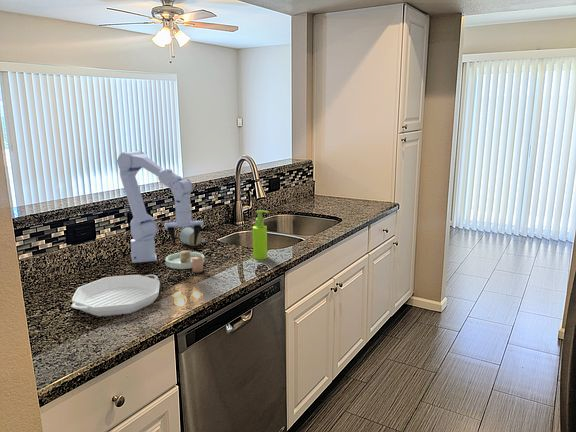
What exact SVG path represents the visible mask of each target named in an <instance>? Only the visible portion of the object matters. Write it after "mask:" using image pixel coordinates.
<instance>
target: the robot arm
mask: <svg viewBox="0 0 576 432" xmlns="http://www.w3.org/2000/svg"><path fill="white" fill-rule="evenodd" d="M116 163H117V166H118V169H119V177H120V180H121V183H122V186H123V188H124V189H123V190H124V192H125V195H126V199H127V201H128V204H129V208H130V212H131V214H132V219H131V220H130V223H129V226H130V234H131V237H132V238H133V239H130V250H131V251H130V258H131V263H132V264H135V263H137V264H138V263H147V262H148V263H149V262H157V261H158V260H157V254H156V246H155V237H156V234H157V232H158V224H157V223H156V222H155V220H154V218H153V216H152V215H150V214H149V213H148V212H147V210H146V206H145V202H144V199H143V197H142V194H141V190H140V188H139V187H140V186H139V184H138V181H137V178H136V175H137V174H138V172H140V170H142V169H144V170H146V171H147V172H150V173H151V174H153V175H155V176H156V177H157V178H158V179H157V180H158V181H159V182H160V183H161V184H162V185H164V186H165V187H167V188H169V189H170V191H171V193H172V195H173V199H174V206H175V208H174V209H175V221H172V222H171V221H170V222H164V224H163V225H164V230H167V232H168V234H169V236H170V238H171V240H172V243H173V247H174V248H175V247H177V245H176V244H177V243H176V242H177V241H176V232H175V229H178V228H180V229H181V228H186V227H189V228H192V229H194V245H196V242H197V237H198V234H199V232H200V231H201V229H202V227H204V220H192V208H191V207H192V206H191V193H192V192H193V189H194V186H193V183H192V182H191V180H190V179H188V178H182V176H179V175H178V174H176V173H174V172H173V170H172V169H171V168H165V169H164V168H162V167H161V166H159V165H158V164H157V163H156V162H155V161H153V159H151V158H149V156H148V154H147V153H145V152H144V151H142V150H137V151H130V152H129V151H128V152H126V151H124V152H121V153H120V154H119V155H118V157H117V160H116ZM200 233H201V232H200Z"/></svg>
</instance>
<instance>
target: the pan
mask: <svg viewBox="0 0 576 432" xmlns="http://www.w3.org/2000/svg"><path fill="white" fill-rule="evenodd" d="M153 277H154V278H153ZM160 285H161V282H160V280H159V277H158V276H157V275H155V274H146V275H141V274H128V275H118V276H115V275H114V276H107V277H103V278H100V279H97V280H94V281H92V282H89V283H87V284H83V285H81V286H78V287H77V289H76V290H75V292H74V294H73V296H72V298H71V302H72V304H70V305H71V306H70V307H71V308H73V309H74V310H75V309H76V310H79V311H81V312H84V313H86V314H89V315H92V316H95V317H102V316H103V317H111V316H113V317H114V316H122V314H124V315H129V314H133V313H135V312H138V311H140V310H142V309H145V308H146V307H148V306H150V305H152V304H154V302H155V301H156V299H157V298H158V297H159V292H160Z"/></svg>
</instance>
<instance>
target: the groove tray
mask: <svg viewBox="0 0 576 432" xmlns="http://www.w3.org/2000/svg"><path fill="white" fill-rule="evenodd" d="M180 252H181V251H180ZM180 252H176V253H171V254H169V255H167V256H166V257H165V266H166V267H167V268H170V269H175V270H187V269H188V270H189V269H193V268H192V258H193V257H203V264H205V255H204V253H200V252H198V251H197V252H196V251H190V252H191V262H187V263H181V261H180Z"/></svg>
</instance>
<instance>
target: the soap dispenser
mask: <svg viewBox="0 0 576 432" xmlns="http://www.w3.org/2000/svg"><path fill="white" fill-rule="evenodd" d="M255 213H257V217H256V218H255V225H253V226H252V258H253V259H255V260H265V259H267V258H268V226H267V225H265V220H264V219H265V218H264V217H263V216H262V214H269V213H270V211H269V210H265V209H258V210H255Z"/></svg>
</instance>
